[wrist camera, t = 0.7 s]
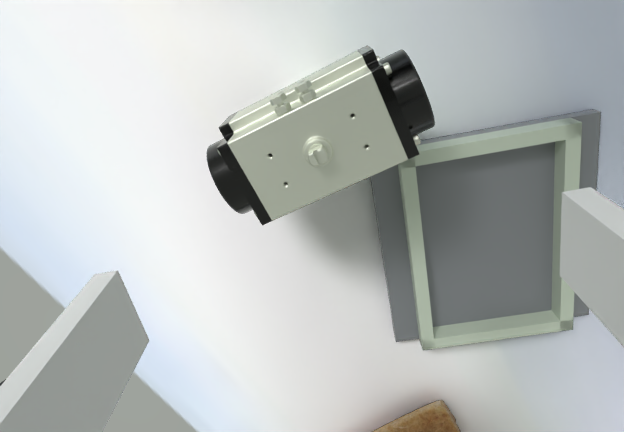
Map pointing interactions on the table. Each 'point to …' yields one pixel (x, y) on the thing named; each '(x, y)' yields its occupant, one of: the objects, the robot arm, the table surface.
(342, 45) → the table surface
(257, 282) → the table surface
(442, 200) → the docking tray
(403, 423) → the stone cup
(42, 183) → the table surface
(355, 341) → the table surface
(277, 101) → the pneumatic valve
